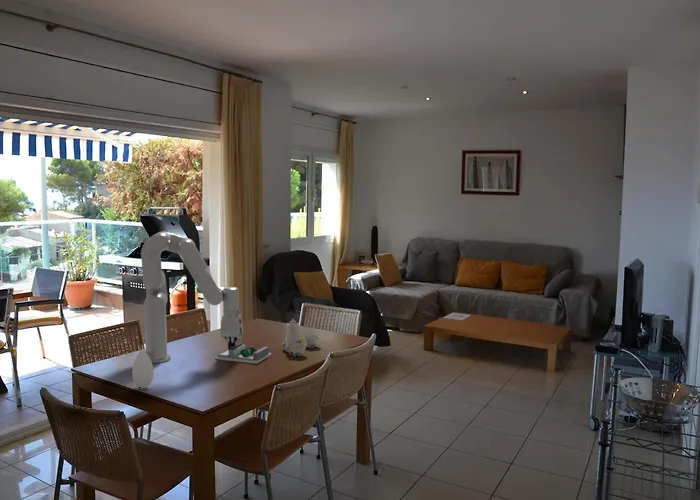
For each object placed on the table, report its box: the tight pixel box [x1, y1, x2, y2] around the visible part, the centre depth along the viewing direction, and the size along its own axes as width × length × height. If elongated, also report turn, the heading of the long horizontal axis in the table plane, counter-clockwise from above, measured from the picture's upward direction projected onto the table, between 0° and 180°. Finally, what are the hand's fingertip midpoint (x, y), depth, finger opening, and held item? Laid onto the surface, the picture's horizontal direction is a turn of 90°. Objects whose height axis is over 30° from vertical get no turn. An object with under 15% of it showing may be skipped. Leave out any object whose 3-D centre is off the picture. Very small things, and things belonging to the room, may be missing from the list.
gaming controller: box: [240, 345, 259, 358], centre depth 267 cm, size 9×4×6 cm
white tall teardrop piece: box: [131, 343, 155, 389], centre depth 223 cm, size 8×8×18 cm
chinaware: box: [282, 318, 321, 357], centre depth 282 cm, size 28×17×17 cm, turn 167°
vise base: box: [214, 345, 272, 365], centre depth 269 cm, size 15×22×4 cm
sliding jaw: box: [228, 341, 246, 356], centre depth 270 cm, size 12×2×4 cm, turn 162°
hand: (231, 350), depth 271 cm, fingers closed
